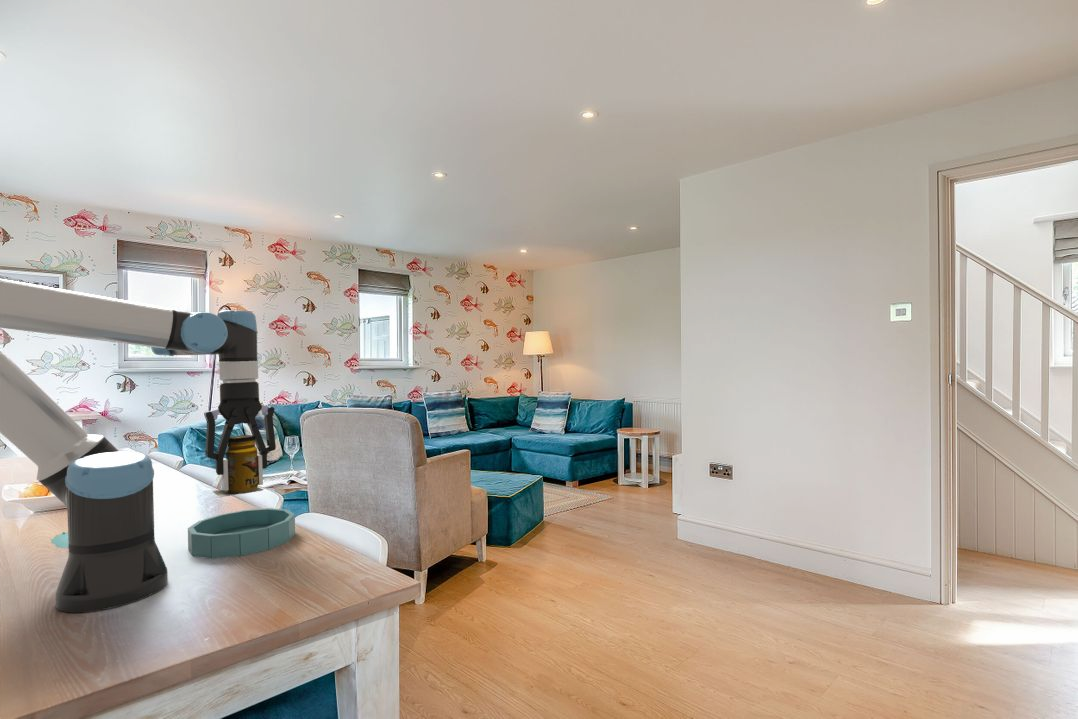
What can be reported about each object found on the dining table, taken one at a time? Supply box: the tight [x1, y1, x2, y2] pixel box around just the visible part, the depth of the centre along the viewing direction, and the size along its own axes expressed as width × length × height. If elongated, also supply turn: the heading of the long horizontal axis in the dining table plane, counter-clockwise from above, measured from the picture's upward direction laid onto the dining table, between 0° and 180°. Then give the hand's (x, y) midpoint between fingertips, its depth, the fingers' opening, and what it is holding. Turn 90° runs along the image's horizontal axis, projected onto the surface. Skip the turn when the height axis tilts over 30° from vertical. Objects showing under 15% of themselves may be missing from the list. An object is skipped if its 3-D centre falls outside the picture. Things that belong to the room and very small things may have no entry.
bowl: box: [187, 507, 296, 559], centre depth 120 cm, size 20×20×4 cm
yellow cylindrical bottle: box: [212, 434, 264, 498], centre depth 120 cm, size 7×8×12 cm
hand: (242, 486), depth 120 cm, fingers closed on yellow cylindrical bottle, 6 cm apart
